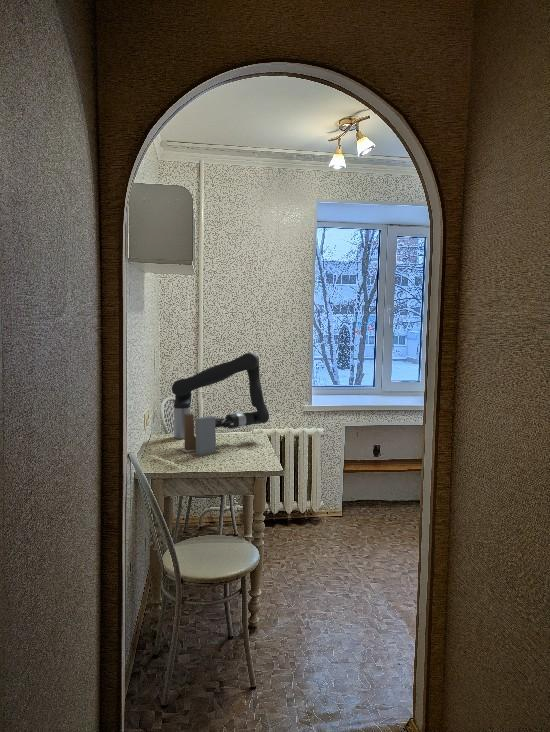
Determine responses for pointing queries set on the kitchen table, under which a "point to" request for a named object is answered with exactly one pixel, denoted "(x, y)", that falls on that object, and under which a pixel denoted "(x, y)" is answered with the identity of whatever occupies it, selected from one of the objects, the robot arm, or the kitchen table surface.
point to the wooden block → (189, 432)
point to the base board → (193, 452)
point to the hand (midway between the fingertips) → (209, 424)
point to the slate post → (205, 435)
